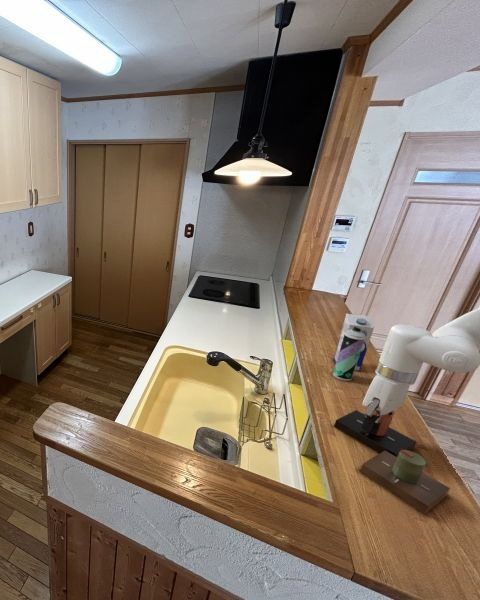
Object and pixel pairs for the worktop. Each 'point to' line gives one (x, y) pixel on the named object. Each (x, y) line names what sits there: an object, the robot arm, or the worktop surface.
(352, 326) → the milk carton
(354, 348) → the spray can
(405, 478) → the green rotary knob near
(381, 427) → the dial knob
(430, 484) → the brown dial base plate
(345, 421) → the black dial base plate
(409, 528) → the worktop surface
